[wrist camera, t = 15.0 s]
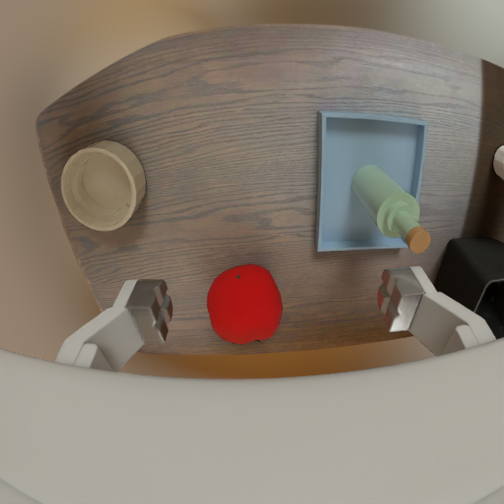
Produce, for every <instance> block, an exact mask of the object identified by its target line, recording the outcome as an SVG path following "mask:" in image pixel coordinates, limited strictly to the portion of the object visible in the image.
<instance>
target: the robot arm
mask: <svg viewBox="0 0 504 504" xmlns="http://www.w3.org/2000/svg"><path fill="white" fill-rule="evenodd" d="M382 280H383V282H384V283H383V284H382V285H381V286H380V287H379V290H378V305H379V308H380V311H381V312H383V313H384V314H386V315H385V318H384V320H385V323H386V325H387V328H388V330H389V332H395V331H404V330H409V332H410V333H411V334H412V335H414V336H415V337H416V338H417V339H418V340H419V341H420V342H421V343H422V344H423V345H424V346H426V347H427V348H428V349H429V350H430V351H431V352H432V353H433V354H434V355H435V356H436V357H431V358H427V359H423V360H417V361H412V362H407V363H402V364H397V365H391V366H385V367H379V368H372V369H366V370H358V371H351V372H343V373H334V374H324V375H313V376H302V377H286V378H263V379H200V378H199V379H198V378H177V377H162V376H150V375H139V374H129V373H121V372H118V371H119V370H120V369H121V368H122V367H123V366H124V365H125V364H126V363H127V361H128V360H129V359H130V358H131V357H132V356H133V355H134V354H135V353H136V352H137V351H138V350H139V349H140V348H141V347H142V346H143V345H144V343H165V340H166V336H167V333H168V328H167V324H168V323H169V322H170V321H171V318H172V311H173V307H172V301H171V298H170V296H168V295H167V294H166V291H167V285H166V282H165V281H164V280H157V279H139V280H127V281H125V283H124V285H123V287H122V289H121V291H120V293H119V295H118V297H117V299H116V300H115V302H114V304H113V307H112V308H107V309H106V310H105V311H103V312H102V313H101V314H99V315H98V316H96V317H95V318H94V319H92V320H91V321H90V322H88V323H87V324H85V325H84V326H83V327H82V328H80V329H79V330H77V331H76V332H75V333H73V334H72V335H71V336H69V337H68V338H67V339H65V341H64V343H63V345H62V347H61V349H60V351H59V353H58V355H57V357H56V359H55V361H54V362H53V361H48V360H44V359H39V358H35V357H30V356H27V355H23V354H19V353H15V352H11V351H8V350H4V349H1V348H0V504H504V337H503V338H500V339H497V340H496V338H495V336H494V335H493V333H492V331H491V330H490V328H489V326H488V325H487V323H486V321H485V320H484V319H483V318H482V317H480V316H479V315H477V314H475V313H474V312H472V311H471V310H469V309H467V308H466V307H464V306H463V305H461V304H460V303H458V302H456V301H455V300H453V299H451V298H450V297H448V296H446V295H445V294H443V293H442V292H437V291H436V289H435V288H434V286H433V284H432V283H431V281H430V280H429V278H428V277H427V275H426V274H425V272H424V271H423V269H422V268H421V267H420V266H414V267H407V268H396V269H385V270H384V272H383V274H382Z"/></svg>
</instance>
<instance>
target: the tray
mask: <svg viewBox="0 0 504 504" xmlns="http://www.w3.org/2000/svg"><path fill="white" fill-rule="evenodd" d="M427 131H428V122H426V121H423V120H421V119H415V118H408V117H400V116H391V115H382V114H370V113H357V112H339V111H318V183H317V212H316V233H315V245H316V248H317V251H318V252H320V251H342V250H364V249H386V248H408V246H407V244H406V242H405V241H404V239H403V238H402V237H398V238H391V237H387V236H385V235H384V234H383V233H381V231H380V230H379V229H378V227H377V226H376V224H375V223H374V221H373V220H372V218H371V217H370V216H369V214H368V213H367V211H366V210H365V209H364V207H363V206H362V204H361V203H360V202H359V200H358V199H357V198H356V196H355V195H354V193H353V191H352V187H351V183H352V178H353V176H354V174H355V173H356V172H357V170H359V169H360V168H361V167H363V166H366V165H376V166H378V167H380V168H381V169H383V170H384V171H385V172H386V173H387V174H389V175H390V176H391V177H392V178H393V179H394V180H395V181H397V182H398V183H399V184H400V185H401V186H402V187H403V188H404V189H405V190H407V191H408V192H409V193H410V194H411V195H412V196H413V197H414V198H415V199H416V200H417V202H418V200H419V194H420V188H421V181H422V175H423V168H424V160H425V151H426V142H427Z"/></svg>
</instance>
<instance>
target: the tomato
mask: <svg viewBox="0 0 504 504" xmlns="http://www.w3.org/2000/svg"><path fill="white" fill-rule="evenodd" d="M207 308H208V311H209V315H210V320H211V324H212V328H213V329H214V331H215V332H216V333H217V334H218V335H219V336H220V337H221V338H222V339H224V340H226V341H228V342H232V343H233V344H234V343H237V344H242V345H243V344H246V343H248V342H251V341H253V340H255V341H259V340H266V339H268V338H270V337H272V336H273V334H274V333H275V331H276V329H277V327H278V326H279V324H280V320H281V315H282V310H283V306H282V301H281V295H280V292H279V290H278V288H277V286H276V284H275V281H274V279H273V277H272V275H271V274H270V272H269V271H268V270H266V269H265V268H263V267H261V266H258V265H253V264H248V265H242V266H236V267H234V268H232V269H229V270H227V271H224V272H223V273H222V274H220V275H219V276H218V277H217V278H216V279H215V280H214V282H213V284H212V285H211V287H210V290H209V292H208V296H207ZM259 342H260V341H259Z"/></svg>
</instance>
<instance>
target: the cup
mask: <svg viewBox="0 0 504 504" xmlns="http://www.w3.org/2000/svg"><path fill="white" fill-rule="evenodd" d="M493 166H494V170H495V173H496V174H497V175H498V176H500V177H501V178H502V179H503V180H504V146H501V147H500V148H499V149H497V151H496V153H495V156H494V160H493Z"/></svg>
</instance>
